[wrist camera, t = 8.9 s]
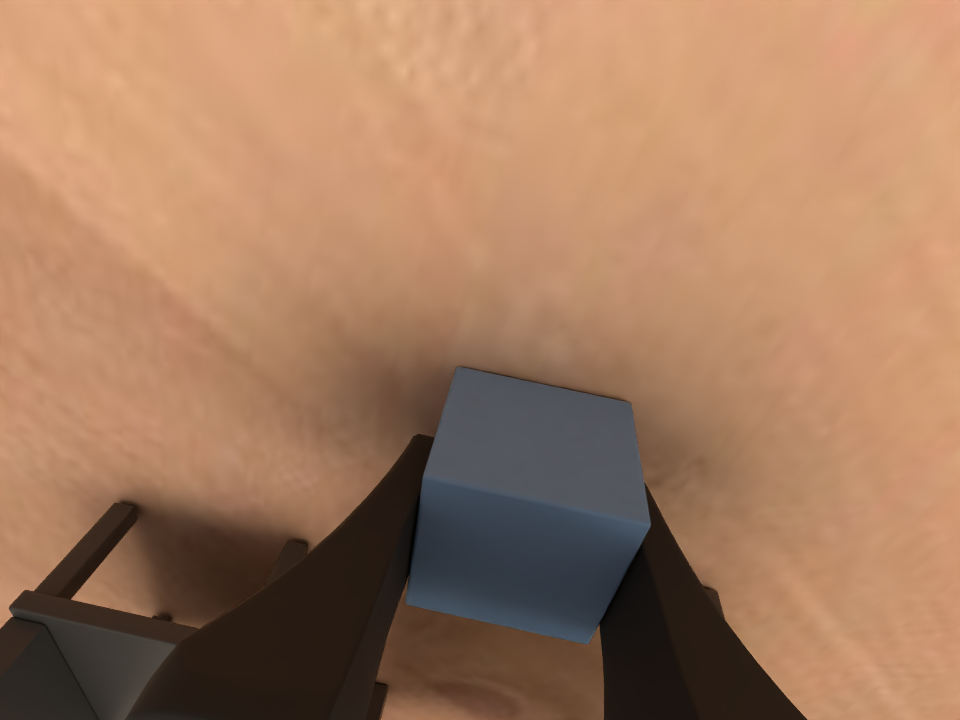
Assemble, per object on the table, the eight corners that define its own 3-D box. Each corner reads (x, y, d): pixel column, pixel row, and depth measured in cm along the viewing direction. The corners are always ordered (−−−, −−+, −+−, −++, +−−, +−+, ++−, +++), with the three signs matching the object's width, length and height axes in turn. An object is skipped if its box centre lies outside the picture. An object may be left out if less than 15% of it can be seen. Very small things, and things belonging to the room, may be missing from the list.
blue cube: (632, 401, 13) (653, 525, 10) (584, 517, 16) (588, 646, 12) (456, 364, 13) (422, 475, 10) (437, 485, 16) (404, 605, 12)
